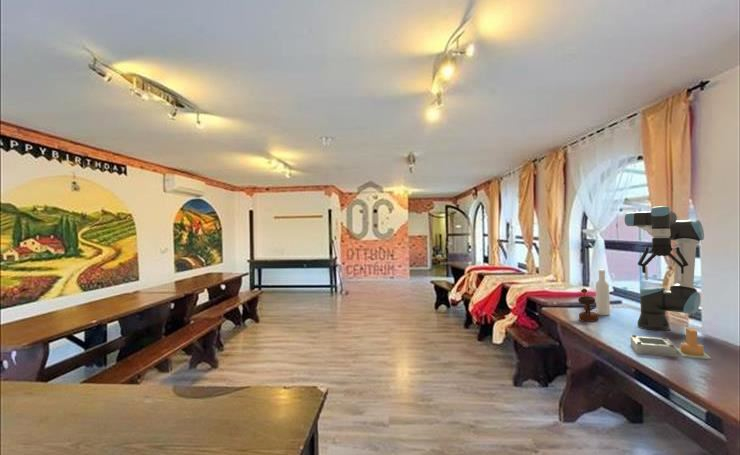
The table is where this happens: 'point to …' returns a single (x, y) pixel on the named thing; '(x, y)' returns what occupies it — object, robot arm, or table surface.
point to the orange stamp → (692, 343)
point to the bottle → (602, 295)
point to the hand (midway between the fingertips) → (662, 280)
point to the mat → (692, 355)
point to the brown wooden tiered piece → (587, 308)
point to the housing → (653, 346)
